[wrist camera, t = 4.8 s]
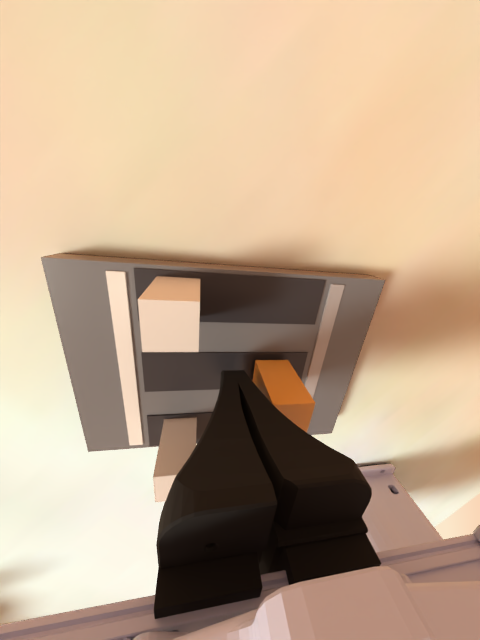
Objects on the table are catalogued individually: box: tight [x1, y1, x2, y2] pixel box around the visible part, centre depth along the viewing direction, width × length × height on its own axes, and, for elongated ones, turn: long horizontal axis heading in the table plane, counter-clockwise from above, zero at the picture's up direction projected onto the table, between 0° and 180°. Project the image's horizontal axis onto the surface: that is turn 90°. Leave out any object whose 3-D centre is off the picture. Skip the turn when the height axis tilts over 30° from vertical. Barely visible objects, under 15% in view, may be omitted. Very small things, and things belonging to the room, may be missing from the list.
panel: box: [41, 253, 385, 502], centre depth 12 cm, size 17×12×5 cm
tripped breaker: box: [253, 360, 315, 433], centre depth 12 cm, size 2×2×4 cm
